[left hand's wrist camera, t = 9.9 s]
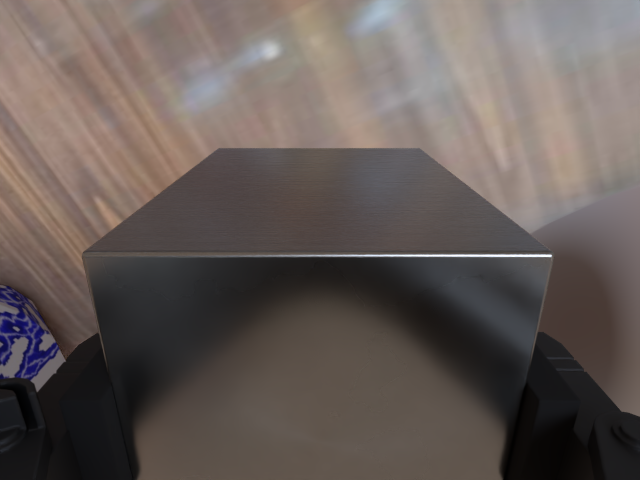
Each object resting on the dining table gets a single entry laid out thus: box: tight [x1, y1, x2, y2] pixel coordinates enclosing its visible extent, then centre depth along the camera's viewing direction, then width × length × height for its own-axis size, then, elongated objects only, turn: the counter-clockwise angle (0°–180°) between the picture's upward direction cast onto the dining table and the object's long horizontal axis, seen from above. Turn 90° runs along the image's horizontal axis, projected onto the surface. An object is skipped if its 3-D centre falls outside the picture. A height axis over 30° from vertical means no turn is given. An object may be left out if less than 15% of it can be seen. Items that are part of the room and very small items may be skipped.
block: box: [82, 148, 554, 480], centre depth 13 cm, size 8×8×10 cm
